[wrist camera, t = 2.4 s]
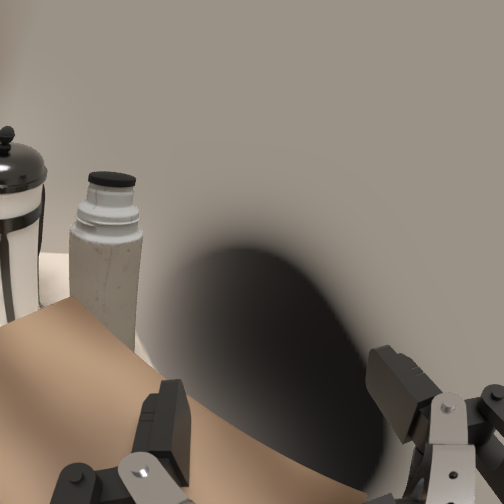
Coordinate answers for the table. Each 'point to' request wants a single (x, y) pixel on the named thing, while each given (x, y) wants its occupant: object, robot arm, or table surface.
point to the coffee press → (20, 226)
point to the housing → (119, 419)
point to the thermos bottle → (107, 253)
